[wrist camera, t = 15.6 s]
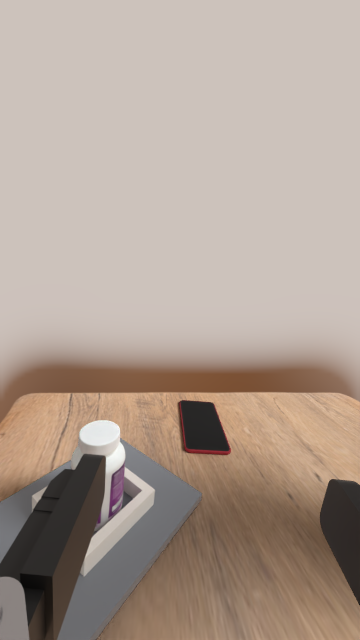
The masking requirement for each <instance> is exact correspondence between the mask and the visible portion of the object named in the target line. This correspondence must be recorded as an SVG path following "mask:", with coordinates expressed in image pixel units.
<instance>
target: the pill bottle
mask: <svg viewBox="0 0 360 640" xmlns="http://www.w3.org/2000/svg"><path fill="white" fill-rule="evenodd" d="M83 454H95V455H105V456H106V474H105V493H104V500H103V504H102V508H101V512H100V515H99V518H98V521H97V524H96V527H95V530H94V531H98V530H100V529H101V528H102V527H103V526H105V525H106V524H107V523H108V522H109V521H110V520H111V519H112V518H113V517H114V516H115V515H116V514H118V513H119V512H120V511H121V508H122V501H123V488H124V472H125V449H124V447H123V445H122V444H121V442H120V429H119V427H118V425H117V424H115V423H114V422H111V421H107V420H99V421H94V422H91V423H89V424H87V425H85V426H84V427H83V428H82V429H81V430H80V433H79V441H78V446H77V448H76V449H75V451H74V452H73V455H72V458H71V469H72V470H75V469H76V467H77V465H78V463H79V461H80V459H81V457H82V456H83Z"/></svg>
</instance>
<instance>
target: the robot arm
mask: <svg viewBox="0 0 360 640" xmlns="http://www.w3.org/2000/svg"><path fill="white" fill-rule="evenodd" d="M105 474H106V456H105V455H95V454H83V456H82V457H81V459H80V461H79V463H78V465H77V467H76V469H75V470H72V469H64V470H63V471H62V472H61V473H59V474H58V475H57V476H56V477H55V478H54V479H52V480H51V482H50V483H49V485H48V486H47V488H46V490H45V491H44V493H43V495H42V496H41V499H39V501H38V503H37V504H36V506H35V508H34V509H33V512H32V513H31V514H30V516H29V517H28V519H27V521H26V522H25V524H24V525H23V527H22V529H21V530H20V532H19V534H18V535H17V537H16V539H15V540H14V542H13V543H12V545H11V547H10V548H9V550H8V552H7V553H6V555H5V556H4V558H3V560H2V561H1V563H0V640H57V638H58V635H59V633H60V630H61V627H62V624H63V621H64V618H65V615H66V612H67V609H68V606H69V603H70V600H71V597H72V594H73V591H74V588H75V585H76V583H77V580H78V577H79V574H80V571H81V568H82V565H83V562H84V559H85V556H86V553H87V550H88V547H89V544H90V541H91V538H92V535H93V532H94V530H95V527H96V524H97V521H98V518H99V515H100V512H101V508H102V504H103V500H104V493H105ZM320 523H321V528H322V531H323V534H324V536H325V538H326V540H327V542H328V544H329V546H330V548H331V550H332V552H333V554H334V556H335V558H336V560H337V562H338V564H339V566H340V568H341V570H342V572H343V574H344V576H345V578H346V579H347V581H348V583H349V585H350V587H351V589H352V591H353V593H354V595H355V597H356V599H357V601H358V603H359V605H360V485H359V484H358V483H356V482H354V481H346V480H336V479H332V480H330V481H329V483H328V487H327V490H326V494H325V498H324V501H323V505H322V508H321V512H320Z"/></svg>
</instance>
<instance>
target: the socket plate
mask: <svg viewBox="0 0 360 640" xmlns="http://www.w3.org/2000/svg"><path fill="white" fill-rule="evenodd" d="M120 442H121V444H122V445H123V447H124V449H125V472H124V488H123V501H122V508H121V511H120V512H119V513H118V514H116V515H115V516H114V517H113V518H112V519H111V520H110V521H109V522H108V523H107V524H106V525H105V526H103V527H102V528H101V529H100V530H98V531H94V532H93V535H92V538H91V541H90V544H89V547H88V550H87V553H86V556H85V559H84V562H83V565H82V568H81V571H80V574H79V577H78V580H77V583H76V585H75V588H74V591H73V594H72V597H71V600H70V603H69V606H68V609H67V612H66V615H65V618H64V621H63V624H62V627H61V630H60V633H59V635H58V638H57V640H96V639H97V638H98V636H99V635H100V634H101V632H102V631H103V630H104V628H105V627H106V626H107V624H108V623H109V622H110V620H111V619H112V618H113V616H114V615H115V614H116V612H117V611H118V610H119V608H120V607H121V606H122V604H123V603H124V602H125V600H126V599H127V598H128V596H129V595H130V594H131V593H132V591H133V590H134V589H135V587H136V586H137V585H138V583H139V582H140V581H141V579H142V578H143V577H144V575H145V574H146V573H147V571H148V570H149V569H150V567H151V566H152V565H153V563H154V562H155V561H156V559H157V558H158V557H159V555H160V554H161V553H162V551H163V550H164V549H165V547H166V546H167V545H168V544H169V542H170V541H171V540H172V538H173V537H174V536H175V534H176V533H177V532H178V530H179V529H180V528H181V526H182V525H183V524H184V522H185V521H186V520H187V518H188V517H189V516H190V514H191V513H192V512H193V510H194V509H195V508H196V506H197V505H198V504H199V502H200V501H201V498H202V493H200V492H199V491H198V490H196V489H195V488H193V487H192V486H190V485H189V484H187V483H186V482H184V481H183V480H181V479H180V478H178V477H177V476H175V475H174V474H173V473H171V472H170V471H168V470H167V469H165V468H164V467H162V466H161V465H159V464H158V463H156V462H155V461H153V460H152V459H150V458H149V457H147V456H146V455H145V454H143V453H142V452H140V451H139V450H137V449H136V448H134V447H133V446H131V445H130V444H128V443H127V442H125V441H124V440H122V439H121V438H120ZM64 469H71V460H70V461H69V462H67V463H65V464H64V465H62V466H60V467H58V468H57V469H55V470H53V471H52V472H50V473H48V474H47V475H45V476H43V477H42V478H40V479H38V480H37V481H35V482H33V483H32V484H30V485H28V486H27V487H25V488H23V489H21V490H20V491H18V492H16V493H15V494H13V495H11V496H10V497H8V498H6V499H5V500H3V501H1V502H0V563H1V561H2V560H3V558H4V556H5V555H6V553H7V552H8V550H9V548H10V547H11V545H12V543H13V542H14V540H15V539H16V537H17V535H18V534H19V532H20V530H21V529H22V527H23V525H24V524H25V522H26V521H27V519H28V517H29V516H30V514H31V513H32V512H33V509H34V508H35V506H36V504H37V503H38V501H39V499H41V496H42V495H43V493H44V491H45V490H46V488H47V486H48V485H49V483H50V482H51V480H52V479H54V478H55V477H56V476H57V475H58V474H59V473H61V472H62V471H63V470H64Z"/></svg>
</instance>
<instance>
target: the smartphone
mask: <svg viewBox="0 0 360 640" xmlns="http://www.w3.org/2000/svg"><path fill="white" fill-rule="evenodd" d="M179 405H180V414H181V422H182V431H183V439H184V448H185V450H186V451H187V452H189V453H202V454H220V455H228V454H229V453H230V452H231V449H230V446H229V443H228V441H227V438H226V435H225V432H224V430H223V427H222V424H221V422H220V419H219V416H218V414H217V411H216V408H215V405H214V404H213V403H211V402H201V401H187V400H182V401H180V402H179Z"/></svg>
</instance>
